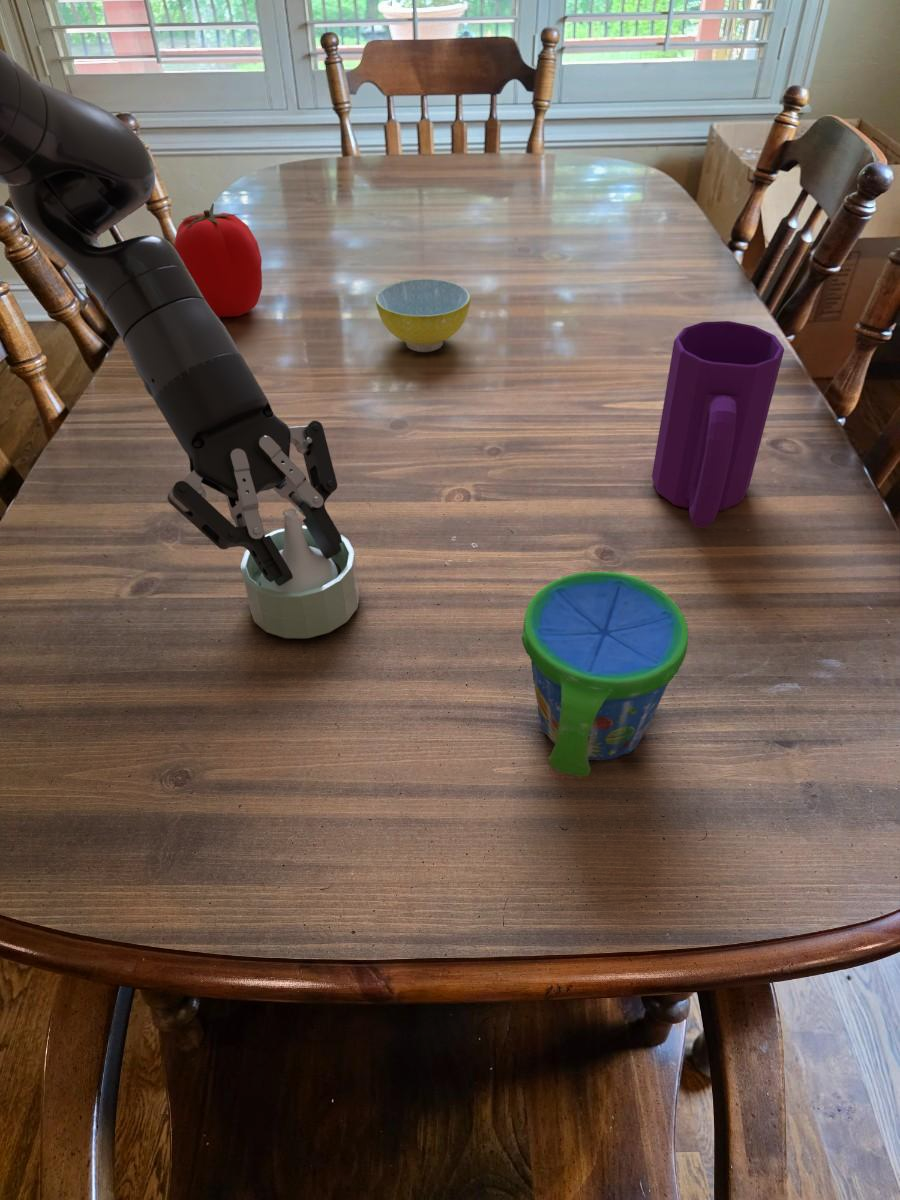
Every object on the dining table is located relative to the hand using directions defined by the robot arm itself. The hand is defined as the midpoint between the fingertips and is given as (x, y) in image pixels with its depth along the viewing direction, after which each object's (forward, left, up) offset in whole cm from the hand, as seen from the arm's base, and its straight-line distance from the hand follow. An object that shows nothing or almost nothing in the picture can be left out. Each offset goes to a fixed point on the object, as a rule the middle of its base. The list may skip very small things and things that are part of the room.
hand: (310, 567), depth 68 cm
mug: (+35, -13, -5) cm, 38 cm away
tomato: (+28, +57, -5) cm, 64 cm away
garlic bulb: (0, +2, -4) cm, 5 cm away
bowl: (+40, +31, -5) cm, 51 cm away
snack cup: (+7, -23, -5) cm, 25 cm away
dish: (0, +2, -5) cm, 6 cm away
